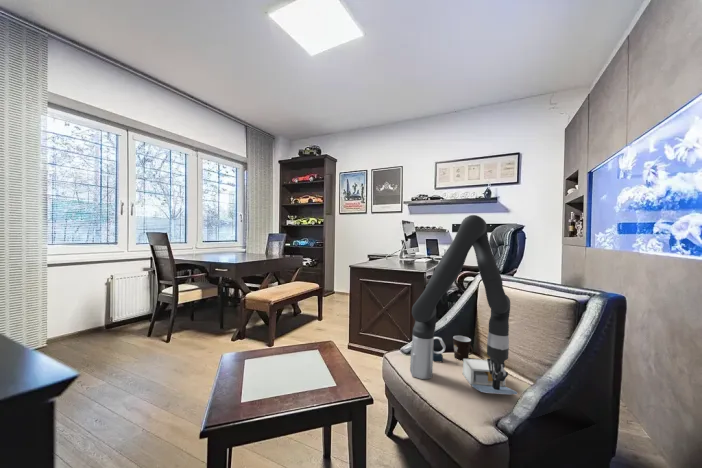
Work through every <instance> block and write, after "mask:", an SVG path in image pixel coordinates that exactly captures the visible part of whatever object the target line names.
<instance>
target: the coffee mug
mask: <svg viewBox="0 0 702 468" xmlns="http://www.w3.org/2000/svg"><path fill="white" fill-rule="evenodd" d="M452 342H453V353H454V359H456V360H457V359H458V360H457V361H461V360H462V362H463V359H469V356H470V355H472V354H473V353H474V348H473V347H472V345H471V343H472V339H471V338H469V337H468V336H463V335H454V336H453V337H452ZM470 349H471V352H470Z"/></svg>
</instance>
